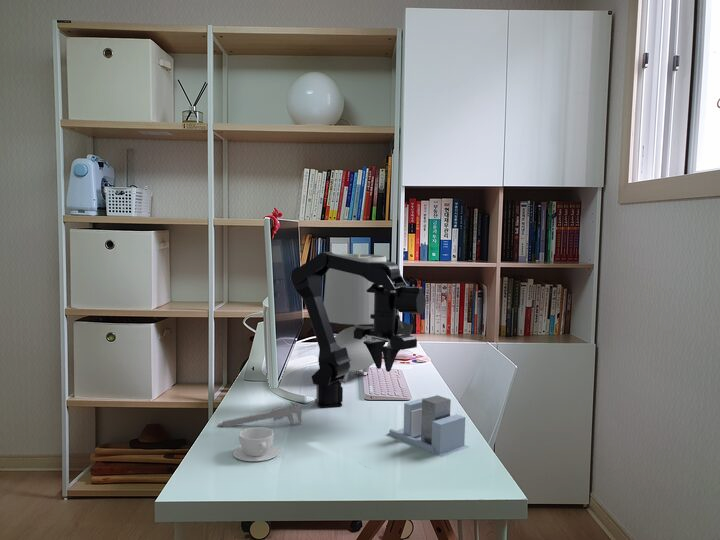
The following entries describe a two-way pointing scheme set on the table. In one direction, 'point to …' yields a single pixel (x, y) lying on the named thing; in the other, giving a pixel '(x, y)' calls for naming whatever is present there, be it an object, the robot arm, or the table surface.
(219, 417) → the table surface
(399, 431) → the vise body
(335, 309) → the table lamp
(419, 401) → the free jaw
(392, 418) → the table surface
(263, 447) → the teacup
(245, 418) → the caliper
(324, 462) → the table surface
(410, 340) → the robot arm
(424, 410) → the block
